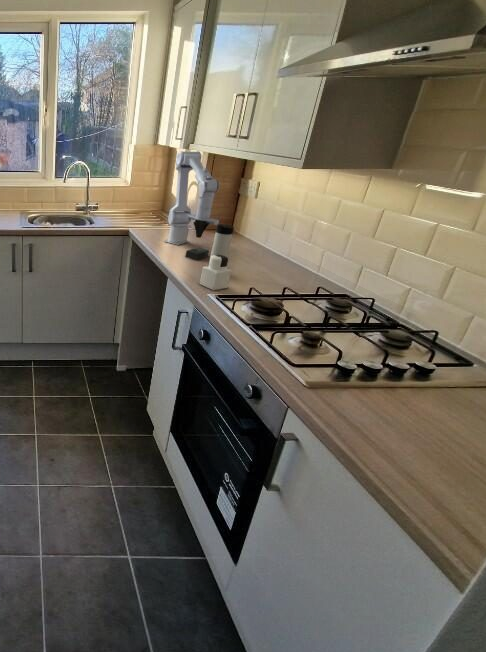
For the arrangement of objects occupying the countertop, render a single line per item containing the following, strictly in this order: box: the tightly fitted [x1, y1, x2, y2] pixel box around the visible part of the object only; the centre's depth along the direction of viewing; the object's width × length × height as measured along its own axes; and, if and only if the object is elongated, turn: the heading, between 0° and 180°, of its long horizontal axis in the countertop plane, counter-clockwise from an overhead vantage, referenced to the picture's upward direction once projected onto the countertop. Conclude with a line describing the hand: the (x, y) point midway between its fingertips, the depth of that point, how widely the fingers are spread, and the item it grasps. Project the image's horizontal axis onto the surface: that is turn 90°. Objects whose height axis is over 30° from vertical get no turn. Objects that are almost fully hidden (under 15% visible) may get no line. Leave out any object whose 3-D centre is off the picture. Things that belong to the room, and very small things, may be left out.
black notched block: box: [185, 248, 205, 261], centre depth 190 cm, size 6×6×3 cm
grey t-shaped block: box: [195, 246, 210, 258], centre depth 192 cm, size 6×5×3 cm
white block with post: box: [199, 255, 232, 291], centre depth 156 cm, size 7×7×12 cm
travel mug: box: [210, 223, 235, 258], centre depth 169 cm, size 6×7×20 cm
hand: (198, 237), depth 190 cm, fingers closed
